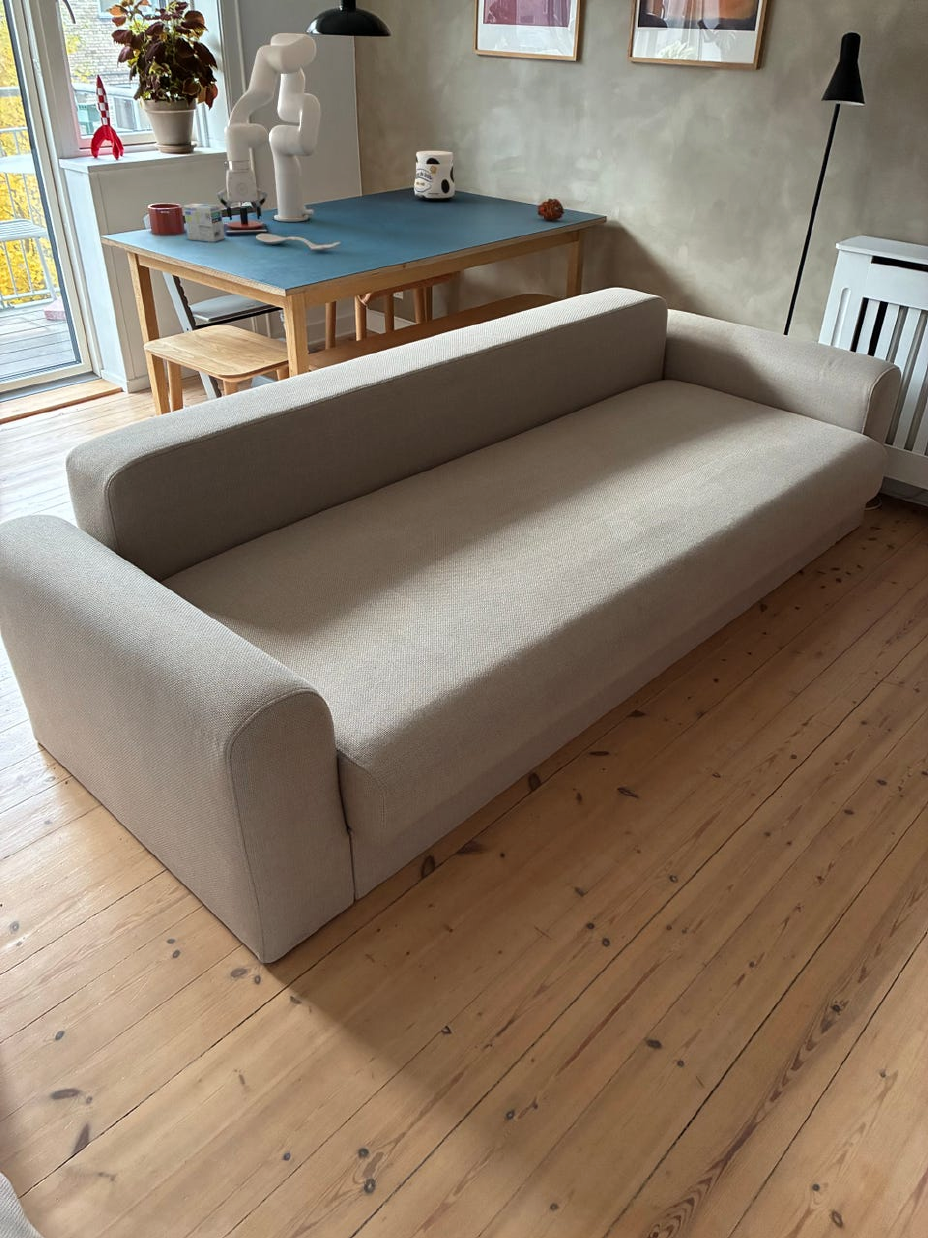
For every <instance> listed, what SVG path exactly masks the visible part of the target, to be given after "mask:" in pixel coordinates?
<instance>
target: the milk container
mask: <svg viewBox="0 0 928 1238" xmlns="http://www.w3.org/2000/svg"><path fill="white" fill-rule="evenodd" d="M413 191H414V195H415V197H416V198H417V199H419V200H423V201H433V202H434V201H436V202H438V201H439V202H440V201H447V200H450V199H452V198H453V197H455V192H456V183H455V179H454V153H453V152H451V151H445V150H420V151H416V154H415V179H414V184H413Z"/></svg>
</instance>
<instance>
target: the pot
mask: <svg viewBox="0 0 928 1238" xmlns="http://www.w3.org/2000/svg"><path fill="white" fill-rule="evenodd" d="M147 211H148V218H149V224H150V232H151V234H153V235H156V236H177V235H181V234H184V233H185V232H186V230H185V229H186V228H185V221H184V215H183V214H184V213H183V206H182V205H181V204H179V203H169V202H167V203H165V202H164V203H153V204H149V205H148V206H147Z"/></svg>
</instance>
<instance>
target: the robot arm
mask: <svg viewBox="0 0 928 1238" xmlns="http://www.w3.org/2000/svg"><path fill="white" fill-rule="evenodd" d="M316 44H317V43H316V42H315V40H314V38H313V37H312V35H311V36H310V35H309V34H305V33H289V32H288V33H286V32H283V33H277V34H274V35H273V36H272V37H271V39H270V44H267V45H262V46H260V47H259V49H258V50H257V52H256V55H255V60H254V64H253V69H252V71H251V76H250V81H249V85H248V88H247V90H246V91H245V92H244V93H243V95H241V96H240V98H239V99H238V100H237V101H236V103H235V104H234V106H233V108H232V110H231V113H230V117H229V121H228V125H227V126H226V127H225V128H224V140H225V148H226V157H227V161H225V162H223V167H224V168H227V170H226V175H225V176H226V177H225V178H226V181H225V182H226V188H224V189H223V190H221V191H219V192H217V193H216V197H217V199H218V200H219V201H220V203H221V204H222V205H223V206H224V207H225V208H226V216H227V218H229V221H232V220H233V215H232V207H231V206H232V204H233V203H254V204H255V205H256V206H255V210H256V211H255V212H256V218H257V220H260V219H261V218H260V217H262V210H261V209H262V208H261V207H262V206H263V204H264V203H266V199H267V197H268V192H266V191H264V190H263V189H260V188H258V187H257V182H256V177H255V171H254V170H253V169H251V158H250V157H251V156H250V149H262V148H264V147H265V146H266V145H267V144H268V142H269V147H270V150H271V154H272V158H273V166H274V167H273V168H274V179H275V192H276V203H277V204H276V205H277V214H275V215H274V216H273V217H274V218H273V219H274V220H275V221H277V222H285V223H294V222H295V223H299V222H305V221H307V220H309V216H310V217H311V216H312V217H313V216H315V210H314V209H308V208H307V206H306V205H304V199H303V195H304V194H303V181H302V180H303V179H302V168H301V164H300V161H299V158H298V156H300V157H309V156H312V155H313V154H314V152H315V151H316V148H317V144H318V139H319V138H318V136H319V129H320V125H321V124H320V122H321V113H322V111H321V104H320V102H319V99H318V97H316V95H314V94H311V93H307V92H305V89H306V88H305V86H306V76H305V73H304V71H303V68H305V67H306V66H307V65H309V64H310V63H312V62H313V60H314V59H315V57H316V55H317V45H316ZM279 75H280V87H279V94H278V101H277V115H278V118H280V119H281V120H282V121H284V122H287V123H297V124H299V125H291V124H278V125H275V126H273V127H272V128H271V130H270V132H268V130H267V128H266V127H265V126H263V125H262V124H260V123H259V124H258V123H252V122H251V123H250V122H247V121H248V119H249V118H250V116H251V115H252V114H253V113H254V112H255V111H257V110H258V109H259V108H261V107H263V106H265V105H267V104H269V103H271V102H272V101H273V99H274V97H275V91H276V88H277V83H278V79H279ZM226 194H227V195H226ZM258 194H259V195H261V196H262V197H261V199H260V200H258ZM225 195H226V196H227V201H226V200H225V199H224V198H223V196H225Z"/></svg>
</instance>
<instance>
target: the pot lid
mask: <svg viewBox="0 0 928 1238" xmlns="http://www.w3.org/2000/svg"><path fill="white" fill-rule="evenodd" d="M238 208H239V217H240V218H239V220H237V221H230V222H227V223H228V224H227V226H228V227H231V228H234V229H242V230H246V229H255V228H257V227H261V226H262V223H260V222H261V221H254V220H249V217H248V216H249V215H248V207H247V206H239V207H238Z"/></svg>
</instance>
